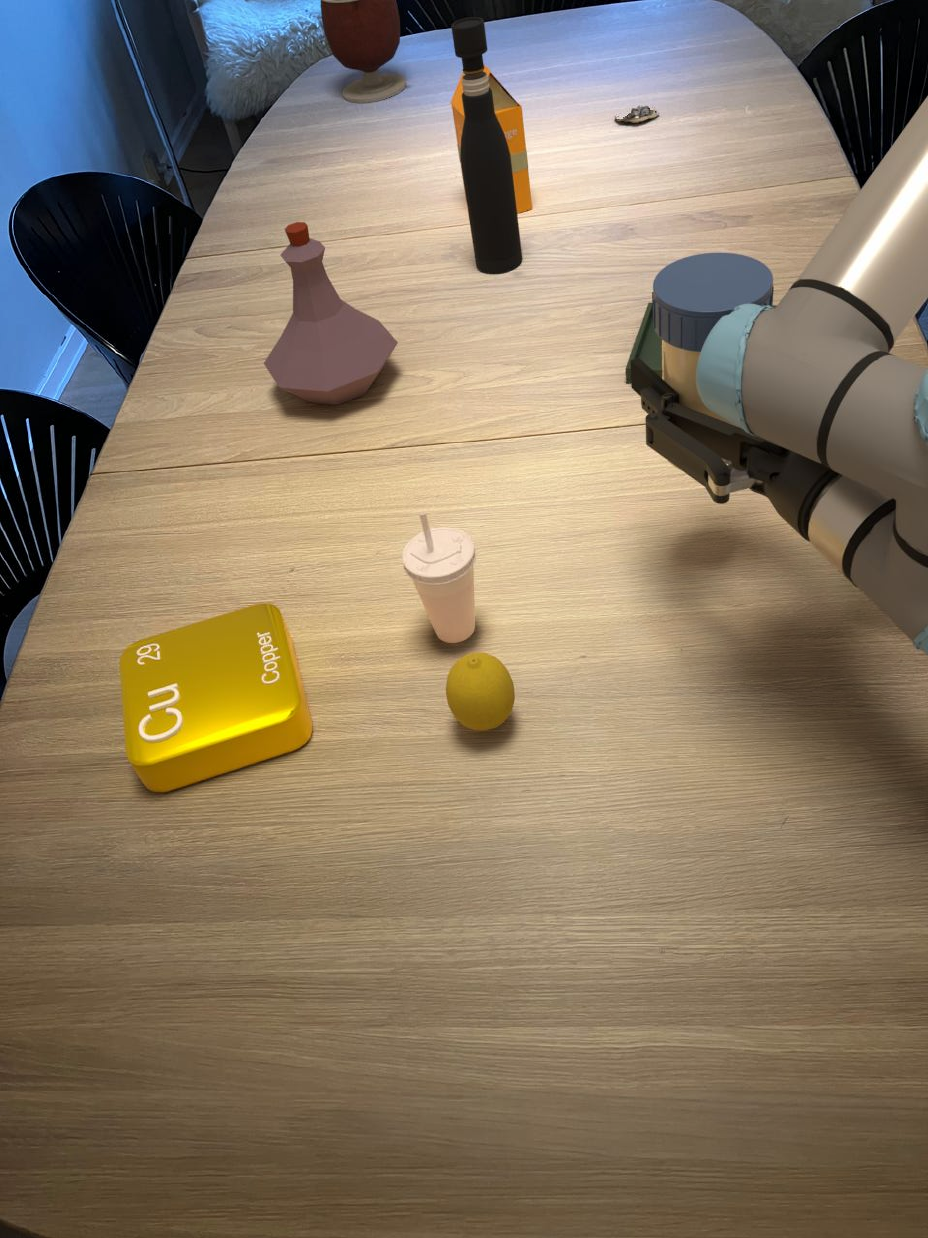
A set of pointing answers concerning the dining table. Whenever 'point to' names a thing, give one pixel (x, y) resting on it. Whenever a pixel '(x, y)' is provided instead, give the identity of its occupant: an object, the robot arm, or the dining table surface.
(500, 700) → the lemon
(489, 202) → the black water bottle
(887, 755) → the dining table surface
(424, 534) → the smoothie
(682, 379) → the jar
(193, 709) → the element tile
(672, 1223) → the dining table surface
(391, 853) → the dining table surface
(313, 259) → the flask
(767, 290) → the lid
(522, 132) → the orange juice
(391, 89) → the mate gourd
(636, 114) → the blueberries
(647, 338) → the tray
